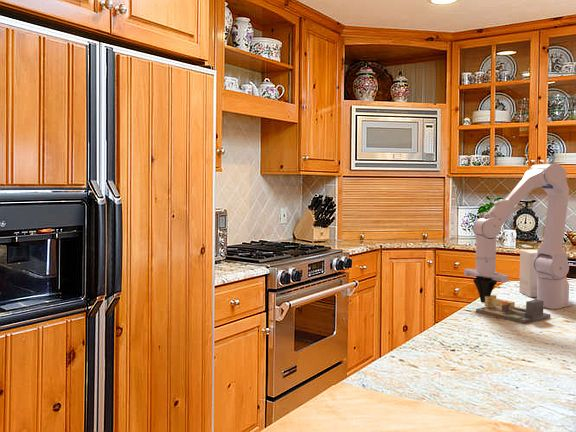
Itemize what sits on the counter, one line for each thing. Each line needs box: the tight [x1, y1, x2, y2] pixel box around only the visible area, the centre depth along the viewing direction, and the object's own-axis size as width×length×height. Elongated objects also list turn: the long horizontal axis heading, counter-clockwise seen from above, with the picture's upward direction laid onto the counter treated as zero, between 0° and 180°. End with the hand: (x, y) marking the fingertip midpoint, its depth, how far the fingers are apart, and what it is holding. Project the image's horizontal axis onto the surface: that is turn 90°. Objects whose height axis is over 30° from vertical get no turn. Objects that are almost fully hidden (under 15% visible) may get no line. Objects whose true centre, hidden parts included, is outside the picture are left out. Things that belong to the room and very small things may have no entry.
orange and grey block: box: [502, 300, 509, 312], centre depth 157 cm, size 2×1×3 cm, turn 123°
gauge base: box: [475, 299, 551, 325], centre depth 159 cm, size 12×16×5 cm
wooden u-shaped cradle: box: [484, 294, 516, 309], centre depth 162 cm, size 6×8×3 cm
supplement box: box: [518, 249, 538, 298], centre depth 187 cm, size 9×9×15 cm
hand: (484, 302), depth 168 cm, fingers closed
